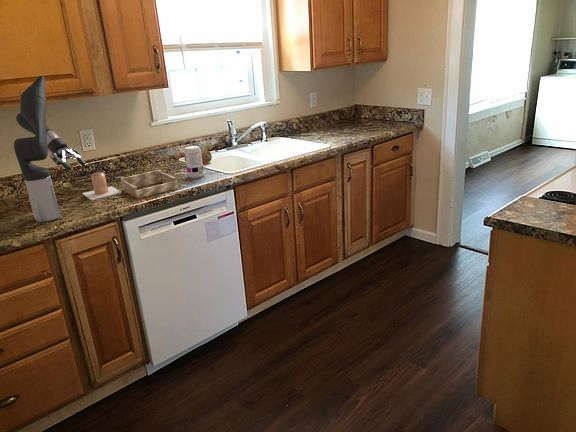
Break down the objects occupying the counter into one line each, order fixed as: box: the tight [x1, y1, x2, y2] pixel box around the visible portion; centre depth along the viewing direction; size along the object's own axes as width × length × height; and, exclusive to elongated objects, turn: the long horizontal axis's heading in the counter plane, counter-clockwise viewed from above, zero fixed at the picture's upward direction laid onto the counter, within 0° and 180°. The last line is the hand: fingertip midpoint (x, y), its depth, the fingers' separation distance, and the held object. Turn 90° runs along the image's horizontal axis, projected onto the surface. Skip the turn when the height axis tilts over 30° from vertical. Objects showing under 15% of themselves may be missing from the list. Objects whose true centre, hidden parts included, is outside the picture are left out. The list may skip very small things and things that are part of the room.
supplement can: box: [183, 145, 205, 179], centre depth 229 cm, size 8×8×15 cm
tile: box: [82, 186, 123, 202], centre depth 213 cm, size 14×14×1 cm
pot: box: [90, 171, 109, 195], centre depth 211 cm, size 6×6×9 cm
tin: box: [184, 148, 213, 165], centre depth 254 cm, size 15×3×8 cm, turn 106°
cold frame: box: [120, 169, 179, 200], centre depth 214 cm, size 20×18×6 cm
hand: (77, 167), depth 213 cm, fingers open, 8 cm apart
